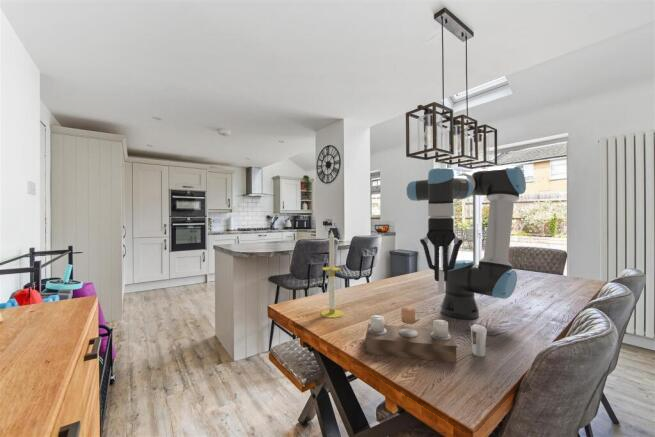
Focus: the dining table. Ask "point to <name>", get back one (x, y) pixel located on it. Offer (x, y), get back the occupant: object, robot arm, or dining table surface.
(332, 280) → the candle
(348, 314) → the dining table surface
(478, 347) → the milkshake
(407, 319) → the knob middle
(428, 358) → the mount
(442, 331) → the knob
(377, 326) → the knob
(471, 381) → the dining table surface
